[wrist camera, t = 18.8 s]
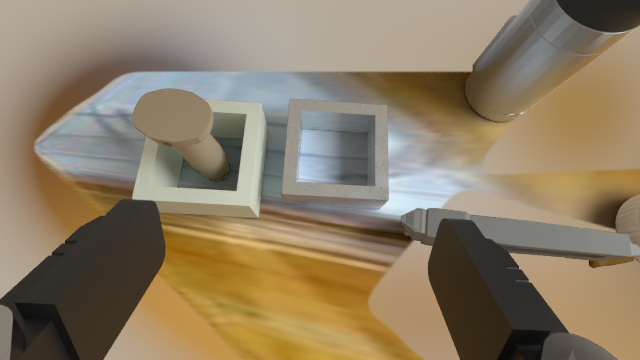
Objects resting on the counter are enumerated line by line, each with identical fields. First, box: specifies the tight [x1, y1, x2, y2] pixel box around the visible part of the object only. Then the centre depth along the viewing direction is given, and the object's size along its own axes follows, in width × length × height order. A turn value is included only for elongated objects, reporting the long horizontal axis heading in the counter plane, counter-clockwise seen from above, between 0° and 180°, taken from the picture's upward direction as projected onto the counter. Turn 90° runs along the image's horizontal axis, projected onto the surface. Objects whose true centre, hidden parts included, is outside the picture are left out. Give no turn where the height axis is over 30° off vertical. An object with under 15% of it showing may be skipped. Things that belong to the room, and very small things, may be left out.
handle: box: [133, 89, 230, 182], centre depth 35 cm, size 5×6×15 cm
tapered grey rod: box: [401, 208, 640, 268], centre depth 38 cm, size 3×25×15 cm, turn 81°
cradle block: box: [132, 99, 268, 218], centre depth 38 cm, size 12×12×7 cm
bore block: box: [281, 99, 389, 209], centre depth 40 cm, size 12×12×5 cm
